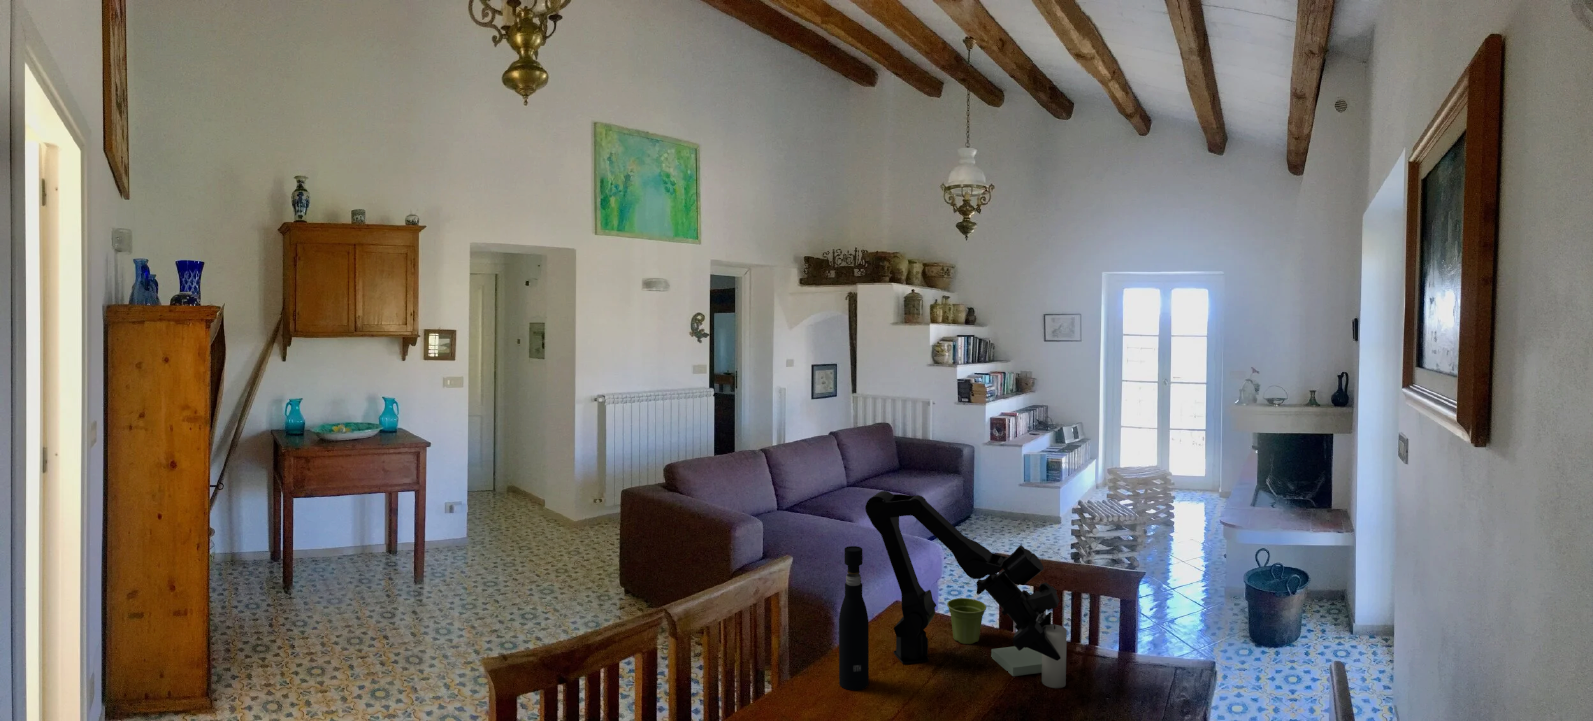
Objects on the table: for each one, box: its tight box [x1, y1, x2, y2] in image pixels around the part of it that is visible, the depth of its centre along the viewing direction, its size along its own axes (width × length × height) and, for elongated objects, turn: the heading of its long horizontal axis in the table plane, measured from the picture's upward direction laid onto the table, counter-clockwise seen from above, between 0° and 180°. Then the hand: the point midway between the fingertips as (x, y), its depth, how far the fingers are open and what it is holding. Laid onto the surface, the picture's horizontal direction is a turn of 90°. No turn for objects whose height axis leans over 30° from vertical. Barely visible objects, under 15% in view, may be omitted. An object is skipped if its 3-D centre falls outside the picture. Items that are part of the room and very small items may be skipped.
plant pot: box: [946, 597, 987, 645], centre depth 202 cm, size 9×9×9 cm
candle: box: [1041, 624, 1068, 689], centre depth 178 cm, size 5×5×13 cm
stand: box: [990, 645, 1042, 677], centre depth 188 cm, size 10×10×2 cm
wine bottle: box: [838, 545, 870, 691], centre depth 178 cm, size 6×6×30 cm
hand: (1060, 654), depth 178 cm, fingers closed on candle, 5 cm apart
